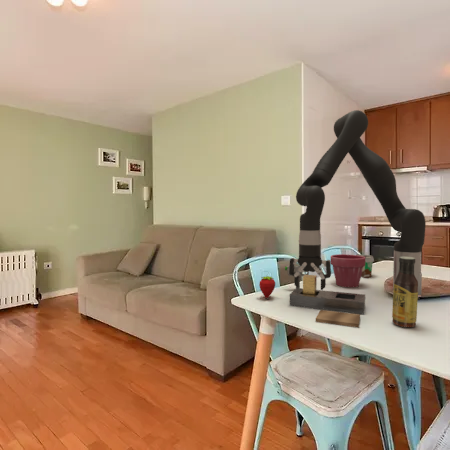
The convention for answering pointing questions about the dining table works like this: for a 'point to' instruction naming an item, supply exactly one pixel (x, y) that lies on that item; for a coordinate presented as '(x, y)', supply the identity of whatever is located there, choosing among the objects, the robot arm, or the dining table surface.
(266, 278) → the strawberry
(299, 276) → the mechanical component
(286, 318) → the dining table surface
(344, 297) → the grey slotted block
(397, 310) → the sauce bottle
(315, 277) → the brass peg
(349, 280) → the plant pot
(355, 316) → the walnut board
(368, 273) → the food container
